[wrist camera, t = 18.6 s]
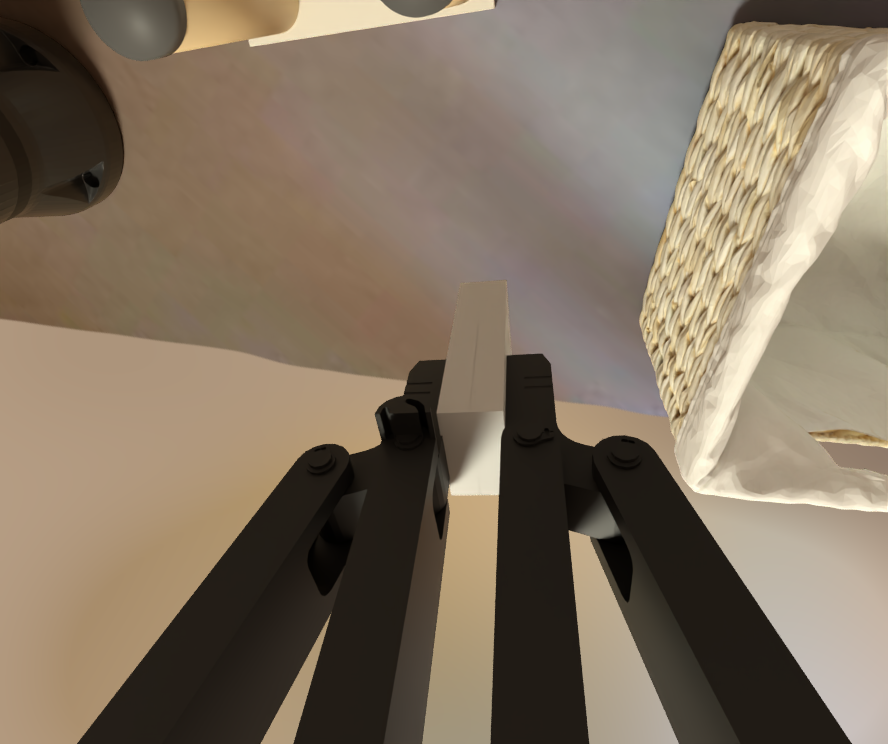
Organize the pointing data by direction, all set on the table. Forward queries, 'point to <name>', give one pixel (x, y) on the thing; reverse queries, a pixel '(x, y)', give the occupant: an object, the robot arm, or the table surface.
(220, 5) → the stool seat
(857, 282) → the basket
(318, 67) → the table surface
